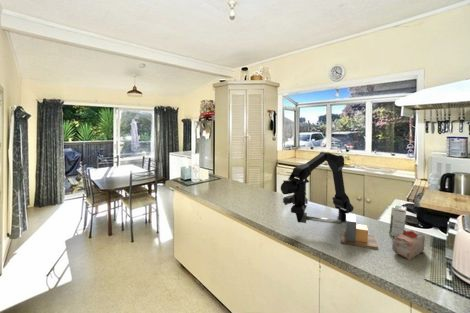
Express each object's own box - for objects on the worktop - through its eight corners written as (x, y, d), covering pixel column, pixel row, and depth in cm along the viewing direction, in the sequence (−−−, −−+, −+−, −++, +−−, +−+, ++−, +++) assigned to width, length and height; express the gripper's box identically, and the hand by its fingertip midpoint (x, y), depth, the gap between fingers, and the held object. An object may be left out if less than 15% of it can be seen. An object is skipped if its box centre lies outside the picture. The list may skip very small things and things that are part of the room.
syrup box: (390, 231, 124) (392, 204, 122) (404, 234, 120) (406, 206, 118) (389, 235, 119) (391, 207, 118) (403, 238, 116) (405, 210, 114)
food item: (411, 262, 96) (413, 239, 95) (390, 253, 103) (391, 231, 102) (425, 252, 104) (427, 230, 102) (405, 244, 110) (406, 224, 109)
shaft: (298, 219, 127) (298, 211, 126) (341, 224, 119) (341, 216, 118) (297, 222, 123) (297, 214, 122) (341, 227, 115) (341, 219, 115)
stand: (340, 232, 123) (341, 212, 122) (373, 237, 118) (375, 216, 116) (341, 243, 112) (342, 221, 111) (378, 249, 107) (379, 225, 105)
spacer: (354, 235, 118) (354, 223, 117) (365, 237, 116) (366, 225, 115) (355, 240, 113) (356, 228, 112) (367, 242, 111) (368, 230, 110)
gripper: (287, 186, 134) (287, 212, 136) (280, 195, 117) (280, 225, 119) (308, 187, 130) (307, 215, 132) (304, 197, 113) (303, 228, 115)
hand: (299, 220), depth 125 cm, fingers closed on shaft, 4 cm apart
